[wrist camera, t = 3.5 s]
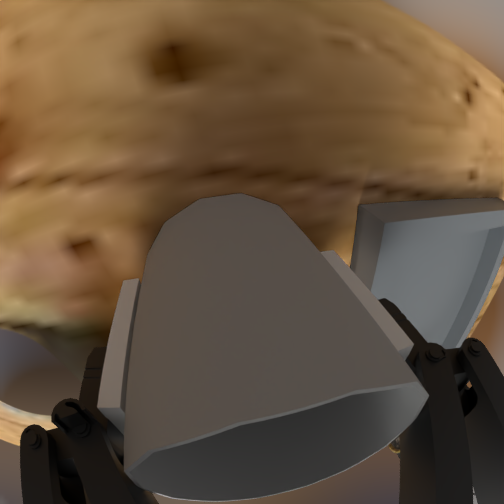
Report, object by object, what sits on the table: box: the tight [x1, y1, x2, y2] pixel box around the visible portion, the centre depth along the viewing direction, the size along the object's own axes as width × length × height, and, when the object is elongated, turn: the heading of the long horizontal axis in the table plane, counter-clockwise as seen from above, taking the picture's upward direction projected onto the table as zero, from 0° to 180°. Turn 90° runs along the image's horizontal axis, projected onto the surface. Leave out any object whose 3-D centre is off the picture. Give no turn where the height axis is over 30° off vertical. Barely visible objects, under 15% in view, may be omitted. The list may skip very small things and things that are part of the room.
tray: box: [350, 198, 504, 349], centre depth 20 cm, size 16×22×2 cm
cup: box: [124, 193, 429, 502], centre depth 10 cm, size 8×8×10 cm
